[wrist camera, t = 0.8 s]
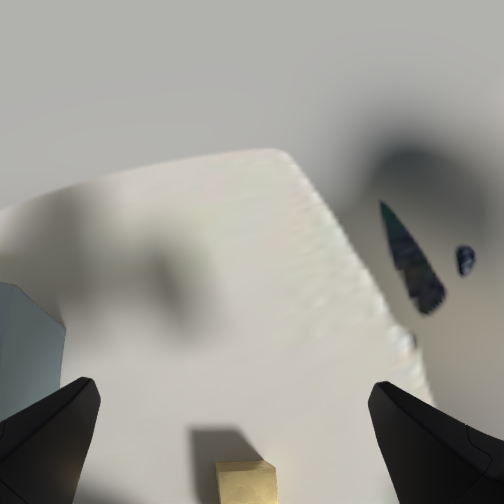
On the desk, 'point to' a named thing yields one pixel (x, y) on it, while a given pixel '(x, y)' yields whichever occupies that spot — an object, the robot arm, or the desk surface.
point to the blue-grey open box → (27, 351)
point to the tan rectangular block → (246, 482)
